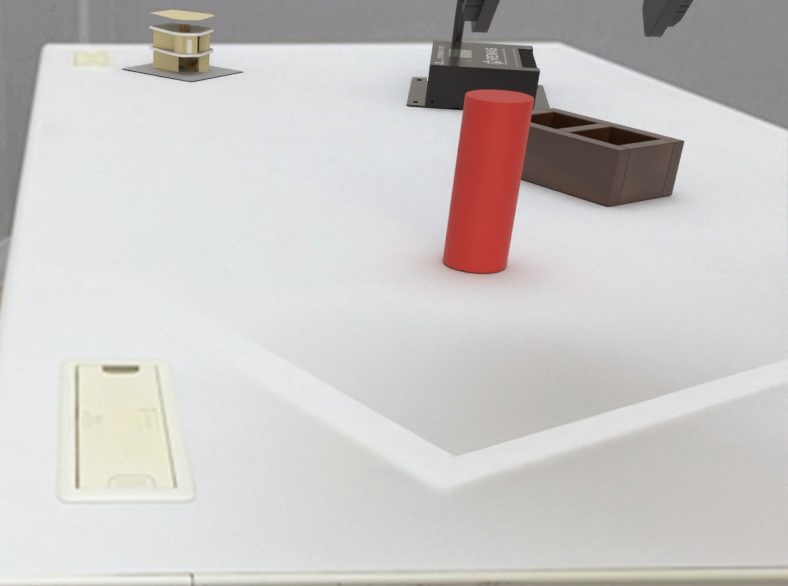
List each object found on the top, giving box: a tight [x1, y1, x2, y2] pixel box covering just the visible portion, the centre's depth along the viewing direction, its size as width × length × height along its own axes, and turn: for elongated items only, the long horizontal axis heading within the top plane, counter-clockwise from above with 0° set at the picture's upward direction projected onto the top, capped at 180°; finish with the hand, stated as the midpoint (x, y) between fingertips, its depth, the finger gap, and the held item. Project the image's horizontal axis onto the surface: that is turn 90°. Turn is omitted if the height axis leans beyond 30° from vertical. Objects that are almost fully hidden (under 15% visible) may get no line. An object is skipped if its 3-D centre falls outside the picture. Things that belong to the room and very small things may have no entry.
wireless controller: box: [406, 0, 551, 110], centre depth 121 cm, size 20×14×17 cm
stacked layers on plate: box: [120, 9, 244, 82], centre depth 130 cm, size 10×9×6 cm
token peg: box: [442, 90, 534, 274], centre depth 74 cm, size 4×4×10 cm
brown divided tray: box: [521, 107, 685, 207], centre depth 94 cm, size 7×13×4 cm, turn 32°
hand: (563, 19), depth 59 cm, fingers open, 8 cm apart
